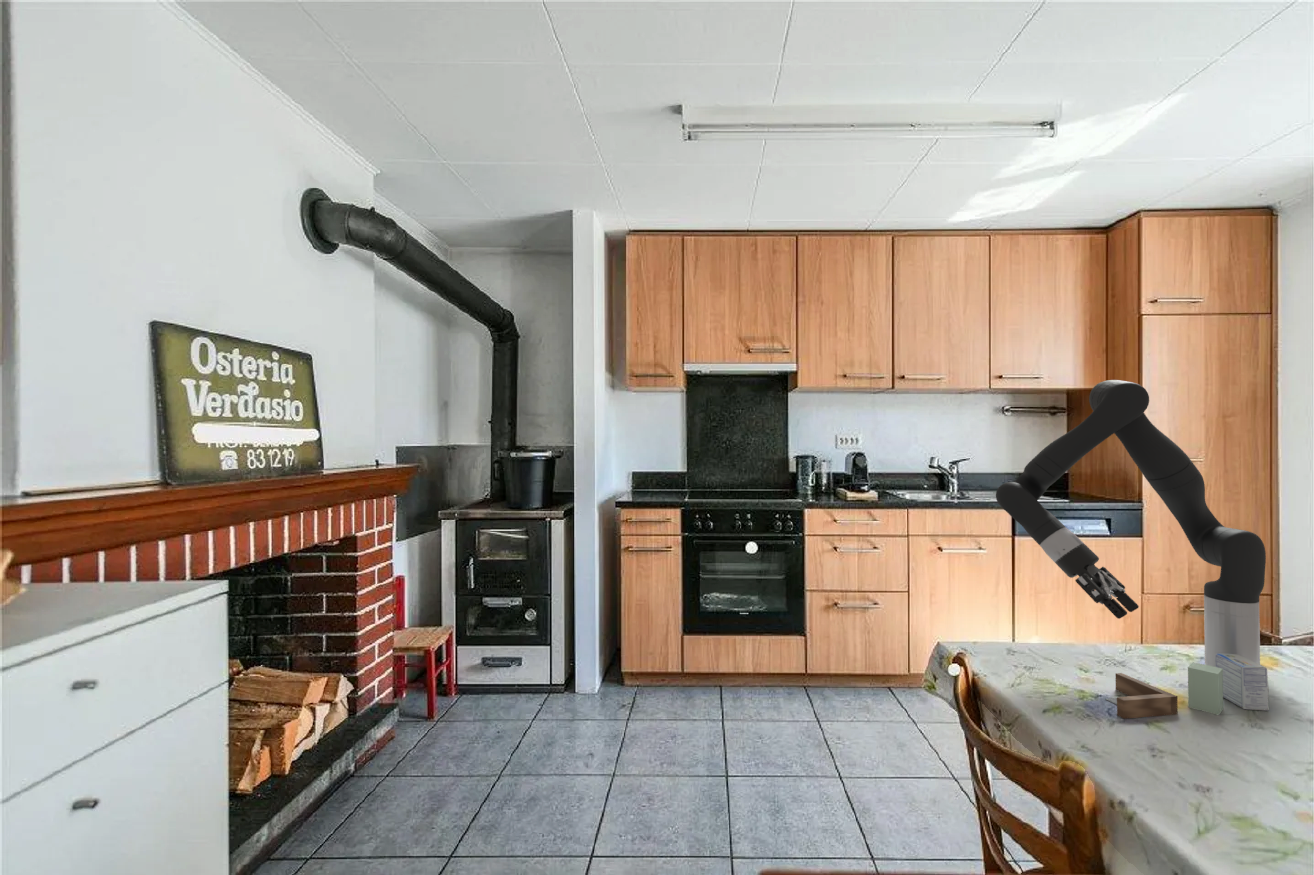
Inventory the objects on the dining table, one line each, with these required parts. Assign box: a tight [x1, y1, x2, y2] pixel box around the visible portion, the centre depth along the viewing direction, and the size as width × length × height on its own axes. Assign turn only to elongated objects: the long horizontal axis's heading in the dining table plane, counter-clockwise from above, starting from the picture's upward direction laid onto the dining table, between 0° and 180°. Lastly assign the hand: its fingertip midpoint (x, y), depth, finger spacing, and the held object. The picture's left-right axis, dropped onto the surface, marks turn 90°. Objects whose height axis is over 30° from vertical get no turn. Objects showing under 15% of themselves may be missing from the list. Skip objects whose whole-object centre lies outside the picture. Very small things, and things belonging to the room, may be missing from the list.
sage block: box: [1187, 661, 1224, 716], centre depth 121 cm, size 4×4×8 cm
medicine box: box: [1215, 654, 1270, 712], centre depth 123 cm, size 8×4×9 cm, turn 168°
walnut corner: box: [1105, 672, 1179, 720], centre depth 123 cm, size 12×12×4 cm
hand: (1129, 613), depth 130 cm, fingers open, 8 cm apart
